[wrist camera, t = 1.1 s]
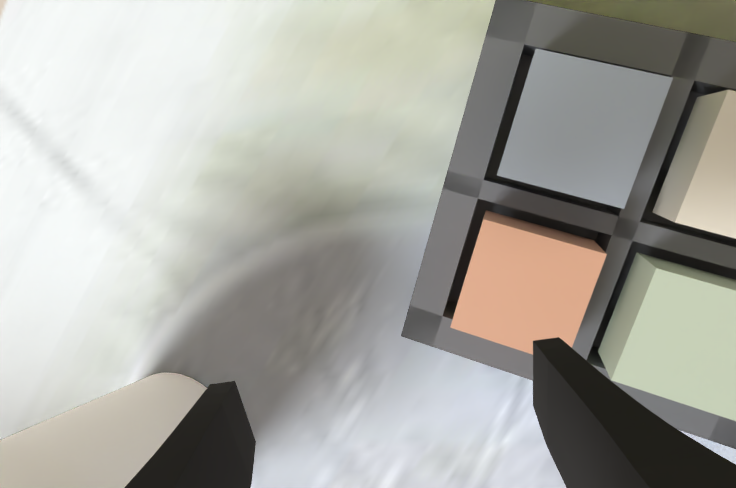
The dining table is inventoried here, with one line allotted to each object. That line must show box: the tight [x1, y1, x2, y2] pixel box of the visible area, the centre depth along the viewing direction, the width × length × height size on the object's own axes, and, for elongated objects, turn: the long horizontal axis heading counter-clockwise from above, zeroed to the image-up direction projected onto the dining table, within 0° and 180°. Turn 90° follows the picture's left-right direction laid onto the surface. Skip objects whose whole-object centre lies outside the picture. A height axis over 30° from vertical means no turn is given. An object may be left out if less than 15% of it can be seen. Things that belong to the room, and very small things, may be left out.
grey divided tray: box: [401, 0, 736, 449], centre depth 19 cm, size 13×13×2 cm
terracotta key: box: [450, 210, 607, 355], centre depth 18 cm, size 4×4×2 cm
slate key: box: [497, 49, 673, 209], centre depth 17 cm, size 4×4×2 cm
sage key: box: [598, 252, 736, 421], centre depth 17 cm, size 4×4×2 cm
